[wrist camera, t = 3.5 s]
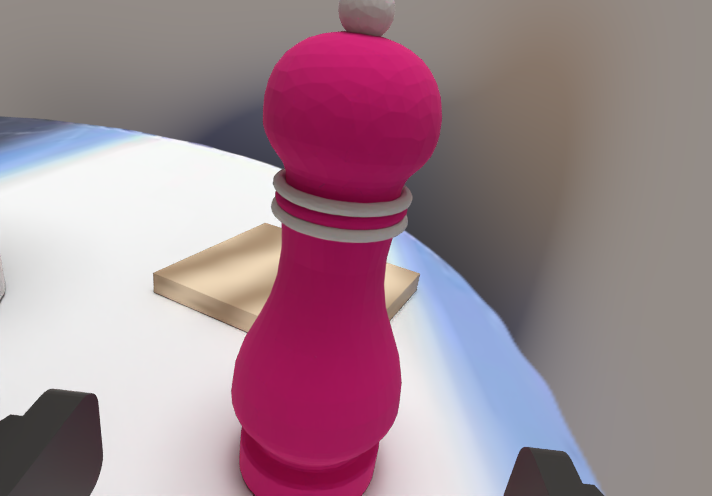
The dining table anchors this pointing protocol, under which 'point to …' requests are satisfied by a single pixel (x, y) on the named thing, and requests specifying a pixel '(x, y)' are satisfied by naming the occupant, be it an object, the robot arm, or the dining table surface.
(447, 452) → the dining table surface
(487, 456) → the dining table surface
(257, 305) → the birch board
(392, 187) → the pepper mill
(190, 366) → the dining table surface
